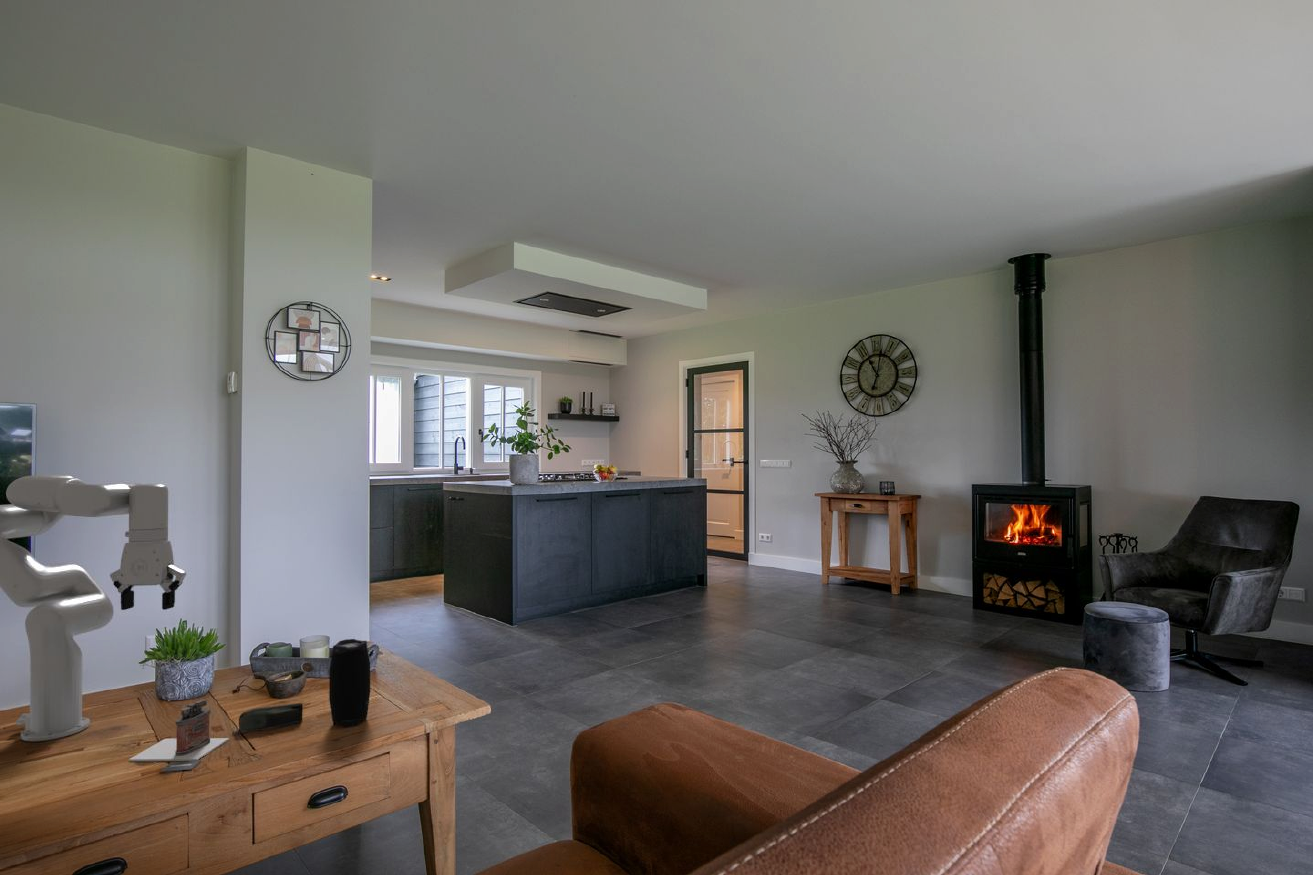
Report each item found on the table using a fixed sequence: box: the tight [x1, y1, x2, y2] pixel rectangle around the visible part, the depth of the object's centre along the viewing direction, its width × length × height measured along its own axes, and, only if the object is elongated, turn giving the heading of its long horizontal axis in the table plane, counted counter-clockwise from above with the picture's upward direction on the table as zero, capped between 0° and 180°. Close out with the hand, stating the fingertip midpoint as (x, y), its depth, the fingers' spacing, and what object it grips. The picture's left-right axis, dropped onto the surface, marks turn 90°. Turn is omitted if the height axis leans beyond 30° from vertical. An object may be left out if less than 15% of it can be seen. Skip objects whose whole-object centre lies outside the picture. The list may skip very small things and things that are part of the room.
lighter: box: [175, 699, 211, 756], centre depth 155 cm, size 8×3×10 cm, turn 170°
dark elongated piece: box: [231, 702, 304, 735], centre depth 168 cm, size 5×3×15 cm
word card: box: [159, 760, 202, 774], centre depth 147 cm, size 6×4×1 cm, turn 100°
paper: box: [128, 737, 230, 762], centre depth 155 cm, size 15×11×1 cm
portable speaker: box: [328, 638, 371, 729], centre depth 171 cm, size 9×9×20 cm
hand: (147, 608), depth 163 cm, fingers open, 9 cm apart
